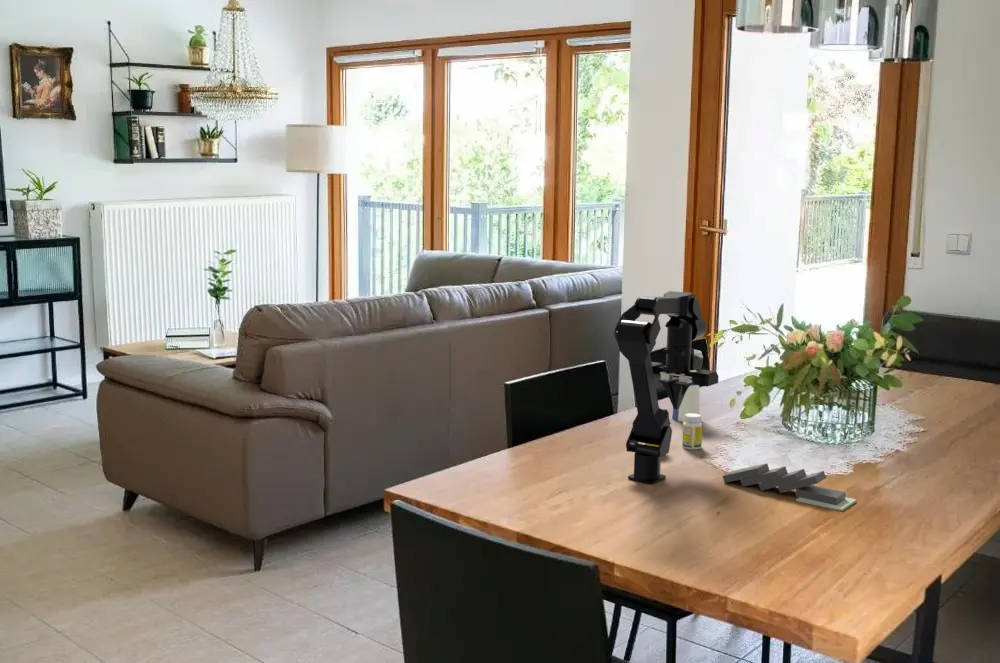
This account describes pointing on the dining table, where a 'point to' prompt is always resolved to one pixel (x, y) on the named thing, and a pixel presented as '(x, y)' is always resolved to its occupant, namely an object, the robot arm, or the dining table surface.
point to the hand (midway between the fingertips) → (676, 409)
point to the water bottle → (689, 399)
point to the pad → (839, 507)
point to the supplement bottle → (692, 431)
